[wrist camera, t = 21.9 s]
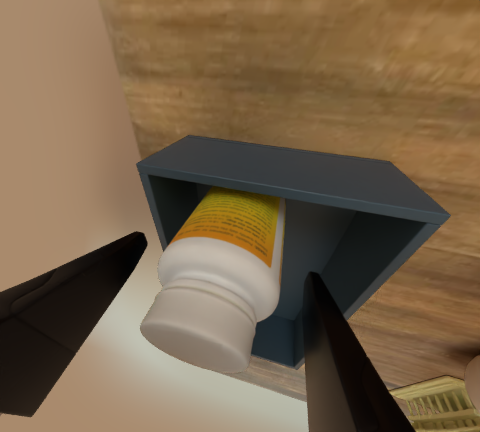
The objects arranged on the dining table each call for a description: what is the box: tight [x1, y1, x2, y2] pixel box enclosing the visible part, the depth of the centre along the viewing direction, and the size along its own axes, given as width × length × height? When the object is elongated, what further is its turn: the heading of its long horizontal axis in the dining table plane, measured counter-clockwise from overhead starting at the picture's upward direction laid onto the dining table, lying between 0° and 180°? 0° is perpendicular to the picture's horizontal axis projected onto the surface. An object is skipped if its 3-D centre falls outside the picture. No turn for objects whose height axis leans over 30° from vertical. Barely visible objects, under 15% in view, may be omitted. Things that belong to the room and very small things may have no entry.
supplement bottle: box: [140, 186, 286, 373], centre depth 10 cm, size 6×6×10 cm
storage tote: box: [136, 135, 451, 370], centre depth 16 cm, size 22×13×6 cm, turn 176°
